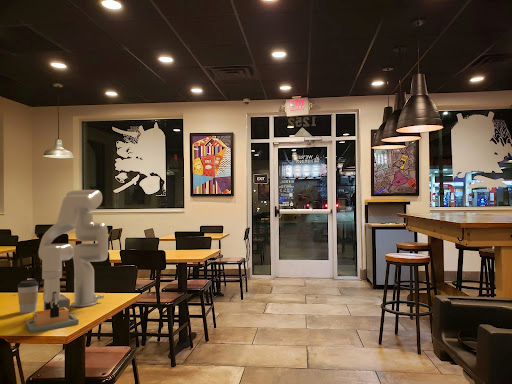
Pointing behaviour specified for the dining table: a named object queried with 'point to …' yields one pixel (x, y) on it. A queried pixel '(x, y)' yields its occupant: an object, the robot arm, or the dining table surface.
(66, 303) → the bay housing
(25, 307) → the coffee cup
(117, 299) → the dining table surface
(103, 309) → the dining table surface
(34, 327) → the tray
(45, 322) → the orange drawer
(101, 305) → the dining table surface
